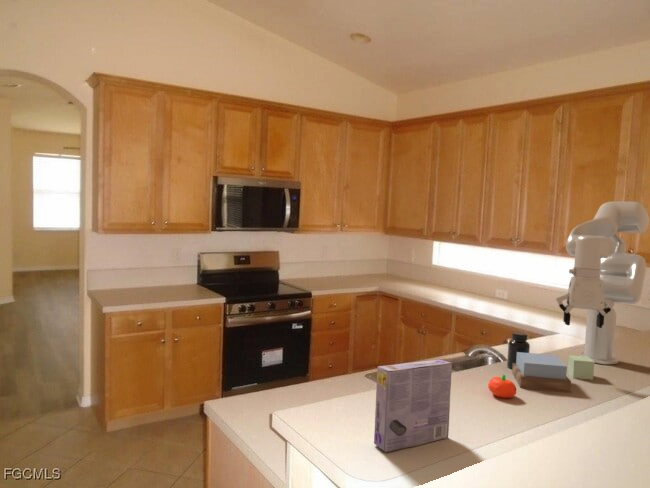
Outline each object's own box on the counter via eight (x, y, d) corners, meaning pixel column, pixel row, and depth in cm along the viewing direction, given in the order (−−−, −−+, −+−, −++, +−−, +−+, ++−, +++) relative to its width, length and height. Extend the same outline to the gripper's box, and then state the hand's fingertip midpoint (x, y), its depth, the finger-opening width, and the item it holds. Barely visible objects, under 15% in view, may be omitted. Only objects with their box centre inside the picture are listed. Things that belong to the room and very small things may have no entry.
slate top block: (516, 364, 159) (516, 352, 159) (555, 367, 157) (556, 355, 157) (523, 375, 148) (524, 362, 147) (566, 379, 145) (566, 366, 145)
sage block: (567, 372, 164) (568, 355, 164) (586, 374, 163) (588, 356, 162) (573, 378, 158) (574, 360, 158) (593, 380, 157) (594, 361, 157)
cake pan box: (438, 429, 116) (442, 356, 115) (453, 437, 112) (457, 362, 111) (371, 444, 107) (375, 365, 106) (384, 454, 103) (388, 372, 102)
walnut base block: (512, 374, 161) (512, 363, 161) (557, 379, 158) (558, 366, 158) (520, 389, 147) (521, 376, 147) (570, 394, 144) (570, 381, 144)
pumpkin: (499, 391, 145) (502, 370, 145) (519, 401, 137) (523, 379, 137) (480, 391, 142) (484, 369, 142) (500, 401, 134) (504, 378, 134)
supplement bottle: (525, 372, 162) (527, 337, 162) (504, 368, 166) (506, 333, 166) (530, 367, 168) (532, 333, 167) (510, 363, 172) (512, 330, 171)
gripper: (561, 273, 156) (557, 325, 157) (620, 276, 153) (616, 330, 154) (555, 271, 164) (551, 321, 164) (611, 274, 160) (607, 326, 161)
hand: (583, 325), depth 159 cm, fingers open, 9 cm apart
